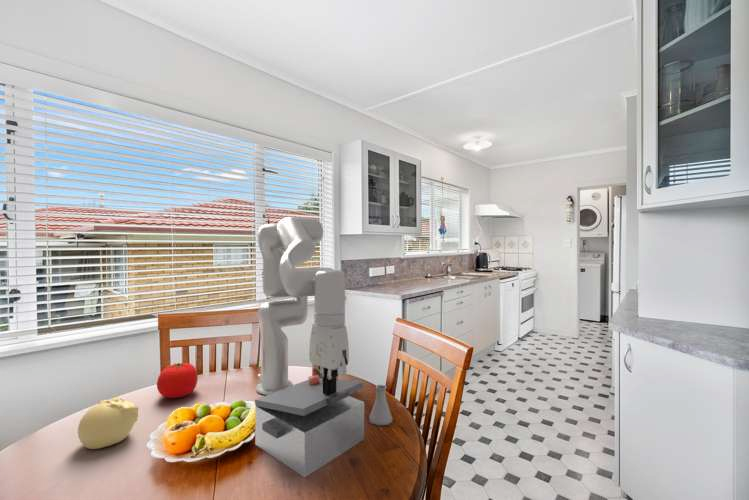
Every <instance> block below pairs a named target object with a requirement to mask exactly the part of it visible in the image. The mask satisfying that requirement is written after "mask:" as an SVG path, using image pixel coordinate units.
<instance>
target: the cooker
mask: <svg viewBox="0 0 749 500" xmlns="http://www.w3.org/2000/svg"><path fill="white" fill-rule="evenodd" d="M254 413H255V417H254V418H255V419H254V420H255V421H254V423H255V425H254V427H255V428H254V429H255V439H254V440H255V442H254V443H255V445H256V446H257V447H258V448H259V449H262V451H264V452H265V453H267V454H269V455H270V456H271V457H272V458H275V459H276V460H278V461H279V462H280V463H281V464H283V465H285V466H287V468H289V469H291V470H292V471H293V472H295V473H297V474H298V475H300V476H301V477H302V478H306V477H308V476H309V475H312V474H313V473H315V472H316V471H317V470H319V469H320V468H322V467H324V466H325V465H327V464H329V463H330V462H331V461H333V460H335V459H336V458H338V457H339V456H340V455H342V454H344V453H346V452H347V451H348V450H350V449H351V448H353V447H354V446H356V445H358V444H359V443H360V442H362V441H364V440H365V401H363V400H360V399H358V398H356V397H355V398H354V397H352V396H351V394H349V396H348V397H346V398H344V399H342V400H340V401H338V402H336V403H333V404H328V405H326V406H324V407H322V408H320V409H317V410H315V411H313V412H311V413H309V414H307V415H305V416H302V415H297V414H292V413H288V412H283V411H278V410H273V409H269V408H264V407H259V406H255V411H254Z"/></svg>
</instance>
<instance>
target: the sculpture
mask: <svg viewBox="0 0 749 500" xmlns="http://www.w3.org/2000/svg"><path fill="white" fill-rule="evenodd" d="M138 412H139V407H138V405H137V404H135V403H132V402H130V401H128V400H125V399H123V398H121V397H118V396H117V397H114V398H110V399H103V400H99V402H98V403H97V404H96V405H94V406H93V407H91V408H89V409H88V410H87V411H86V412H85V414H84V415H83V416H82V418H81V419H80V421H79V424H78V427H77V436H78V437H77V438H78V440H79V442H80V443H81V444H82V445H83V446H84V447H85V448H86V449H90V450H97V449H103V448H105V447H106V448H107V447H109V446H112V445H114V444H118V443H120V442H122V441H123V440H125V439H126V438H127V437H128V435H129V434H130V433H131V432H132V429H133V427H134V425H135V424H136V422H138V417H139V413H138Z"/></svg>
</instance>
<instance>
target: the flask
mask: <svg viewBox="0 0 749 500" xmlns="http://www.w3.org/2000/svg"><path fill="white" fill-rule="evenodd" d="M375 389H376V395H375V400H374V403H373V406H372V409H371V411H370V414H369V418H368V419H369V423H370V424H372V425H376V426H388V425H390V424H391V423H392V422H394V419H393V416H392V413H391V410H390V406H389V404H388V401H387V395H386V390H387V385H385V384H377V385H376V386H375Z"/></svg>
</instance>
